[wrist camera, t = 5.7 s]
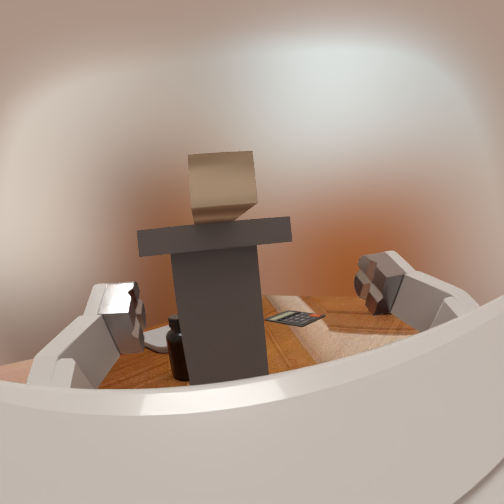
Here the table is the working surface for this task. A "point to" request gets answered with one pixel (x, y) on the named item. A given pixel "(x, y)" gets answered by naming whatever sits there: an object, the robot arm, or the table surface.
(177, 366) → the supplement bottle
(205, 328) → the charcoal stand
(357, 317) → the table surface
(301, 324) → the calculator
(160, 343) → the tablet
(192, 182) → the maple bar
